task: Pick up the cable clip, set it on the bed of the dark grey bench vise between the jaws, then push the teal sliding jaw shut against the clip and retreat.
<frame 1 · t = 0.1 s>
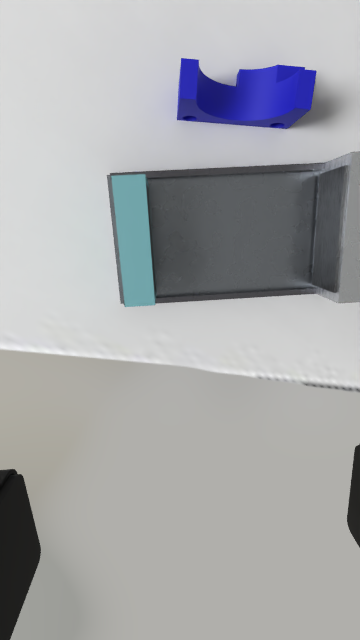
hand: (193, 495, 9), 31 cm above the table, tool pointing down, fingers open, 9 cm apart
cable clip: (234, 101, 34), on the table
vise: (231, 235, 37), on the table
sliding jaw: (137, 242, 33), point 5 cm above the table, slide at 5.0 cm
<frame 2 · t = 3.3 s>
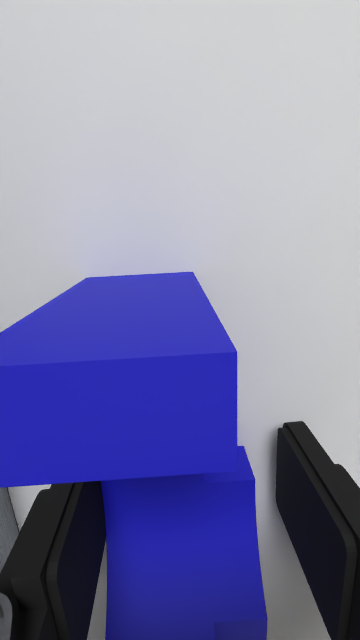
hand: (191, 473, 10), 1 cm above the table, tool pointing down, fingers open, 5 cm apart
cable clip: (177, 446, 11), on the table
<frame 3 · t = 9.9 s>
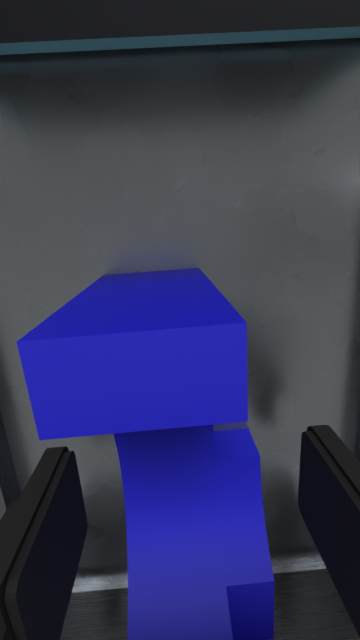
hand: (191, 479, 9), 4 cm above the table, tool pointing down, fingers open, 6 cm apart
cable clip: (187, 430, 12), point 1 cm above the table, touching vise
vise: (180, 354, 12), on the table
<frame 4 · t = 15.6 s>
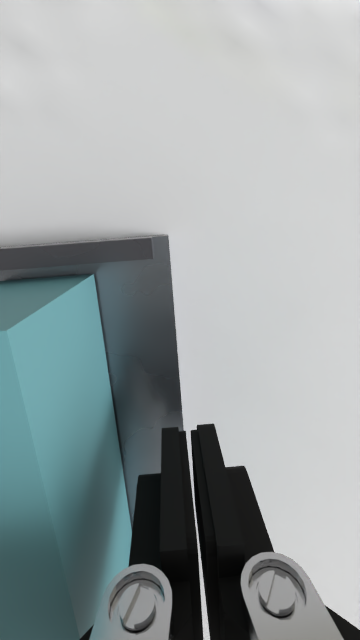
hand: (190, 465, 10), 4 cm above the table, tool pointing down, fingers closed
sliding jaw: (49, 503, 9), point 5 cm above the table, slide at 3.8 cm, touching gripper
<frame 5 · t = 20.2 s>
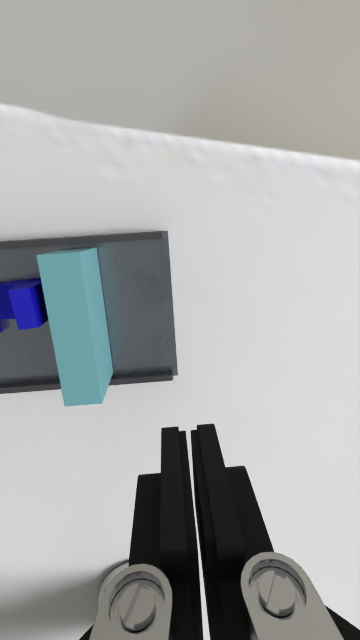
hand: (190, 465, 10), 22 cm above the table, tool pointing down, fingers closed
vise: (34, 314, 31), on the table
sliding jaw: (81, 323, 27), point 5 cm above the table, slide at 0.0 cm
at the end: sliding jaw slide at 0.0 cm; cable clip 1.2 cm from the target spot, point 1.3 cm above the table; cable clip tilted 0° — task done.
